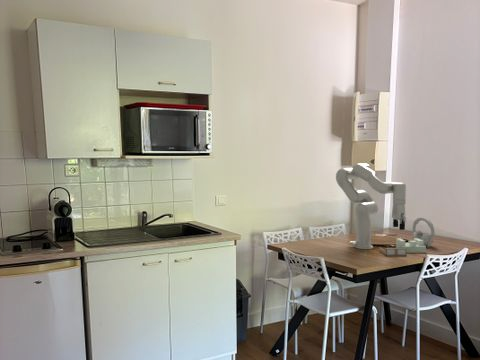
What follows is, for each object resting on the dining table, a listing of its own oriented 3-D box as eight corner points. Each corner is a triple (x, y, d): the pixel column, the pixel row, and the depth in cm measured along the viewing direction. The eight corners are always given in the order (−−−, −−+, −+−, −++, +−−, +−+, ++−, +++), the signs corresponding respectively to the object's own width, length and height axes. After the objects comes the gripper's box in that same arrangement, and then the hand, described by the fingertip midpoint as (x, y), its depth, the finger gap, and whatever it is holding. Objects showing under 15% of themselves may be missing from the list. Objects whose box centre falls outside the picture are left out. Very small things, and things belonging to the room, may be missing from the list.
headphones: (437, 247, 268) (438, 219, 267) (428, 248, 265) (428, 220, 264) (417, 242, 286) (418, 215, 285) (408, 242, 283) (409, 216, 282)
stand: (395, 248, 267) (396, 238, 267) (417, 248, 267) (417, 238, 266) (402, 252, 255) (403, 242, 255) (425, 252, 255) (425, 242, 254)
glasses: (379, 250, 260) (379, 244, 260) (398, 250, 260) (398, 244, 260) (385, 255, 247) (386, 248, 247) (406, 255, 247) (406, 248, 247)
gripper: (388, 200, 256) (387, 226, 257) (399, 203, 239) (398, 230, 240) (399, 200, 256) (398, 225, 257) (411, 203, 239) (410, 230, 240)
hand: (398, 228), depth 249 cm, fingers open, 9 cm apart
